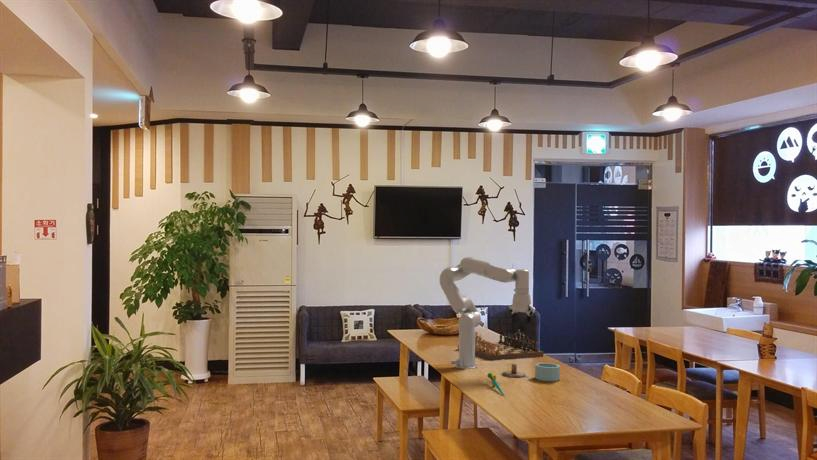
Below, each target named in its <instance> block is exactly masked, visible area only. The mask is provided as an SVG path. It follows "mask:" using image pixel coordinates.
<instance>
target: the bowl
mask: <svg viewBox="0 0 817 460" xmlns="http://www.w3.org/2000/svg"><path fill="white" fill-rule="evenodd" d="M534 367H535V368H534V369H535V370H534V371H535V372H534V379H536V380H537V381H540V382H541V381H542V382H551V383H552V382H553V383H554V382H559V381H560V380H561V365H559V364H557V363H551V362H538V363H535V366H534Z"/></svg>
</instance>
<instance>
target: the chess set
mask: <svg viewBox="0 0 817 460" xmlns="http://www.w3.org/2000/svg"><path fill="white" fill-rule="evenodd" d="M525 336H526V335H525V334H524V332H521V330H520V329H518V330H517V332H516V333H515V332H514V334H513V333H504V336H503V334H500V335H499V337H498V338H499V340H498V341H497V342H492V341H488V340H486V339H485V338H483V336H482V334H480V335H479V334H478V331H475V357H476V356H477V357H479V358H482V359H485V360H488V361H490V360H491V361H503V360H502V359H505V360H516V359H517V358H519V359H529V358H530V359H531V358H544V351H542V350H539V347H538V344H539V342H538V341H535V340H534V339H533V338H529V336H526V338H525ZM458 349H459V344H458V346H457V350H458ZM517 360H518V359H517Z"/></svg>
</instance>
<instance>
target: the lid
mask: <svg viewBox="0 0 817 460" xmlns="http://www.w3.org/2000/svg"><path fill="white" fill-rule="evenodd" d="M517 365H518V364H517V363H511V370H506V371H503V372H502V373H503V375H502V376H503V377H505V376H506V377H505V378H507V377H512V378H511V379H521V377H524V378H526V377H525V376H526V373H525V372H522V371H517V369H518V368H517V367H518V366H517Z"/></svg>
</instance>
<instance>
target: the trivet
mask: <svg viewBox="0 0 817 460" xmlns="http://www.w3.org/2000/svg"><path fill="white" fill-rule="evenodd" d="M499 375H502V376H503V372H501V373H499ZM504 377H505V378H508V379H513V378H512V377H506V376H504ZM521 378H522V379H523V378H528V376H527V375H525V377H521ZM521 378H520V379H521Z"/></svg>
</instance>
